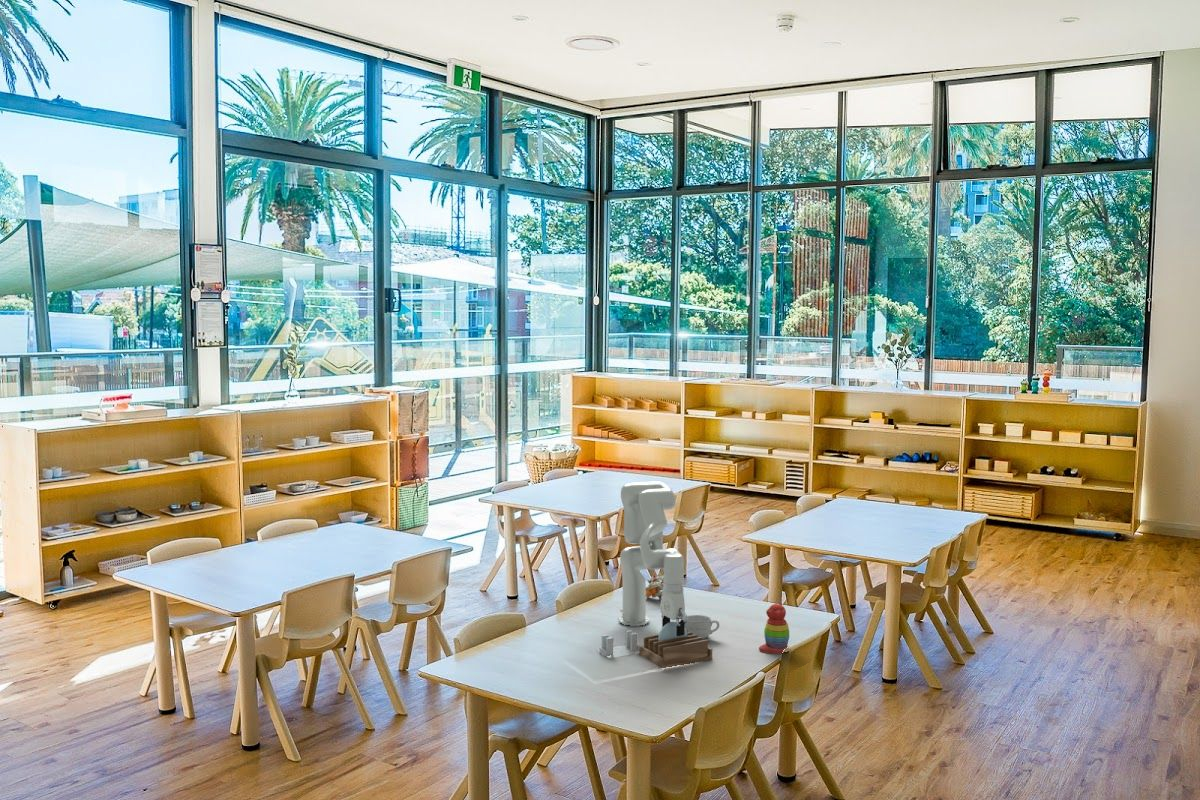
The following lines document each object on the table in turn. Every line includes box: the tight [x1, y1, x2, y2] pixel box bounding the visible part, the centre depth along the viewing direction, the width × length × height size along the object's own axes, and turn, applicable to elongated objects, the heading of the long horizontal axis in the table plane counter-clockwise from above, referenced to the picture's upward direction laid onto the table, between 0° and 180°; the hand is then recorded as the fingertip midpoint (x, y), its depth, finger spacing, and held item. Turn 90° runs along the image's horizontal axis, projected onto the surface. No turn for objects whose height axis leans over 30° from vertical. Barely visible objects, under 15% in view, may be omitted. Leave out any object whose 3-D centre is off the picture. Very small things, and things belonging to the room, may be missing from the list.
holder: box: [598, 629, 641, 659], centre depth 383 cm, size 10×15×8 cm, turn 119°
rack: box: [638, 629, 713, 668], centre depth 378 cm, size 16×22×7 cm
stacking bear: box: [758, 602, 790, 655], centre depth 386 cm, size 11×10×18 cm
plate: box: [658, 620, 688, 641], centre depth 379 cm, size 1×12×12 cm, turn 118°
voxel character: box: [646, 572, 663, 605], centre depth 449 cm, size 11×10×15 cm
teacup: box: [685, 614, 720, 640], centre depth 400 cm, size 14×11×8 cm
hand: (673, 631), depth 379 cm, fingers open, 9 cm apart
